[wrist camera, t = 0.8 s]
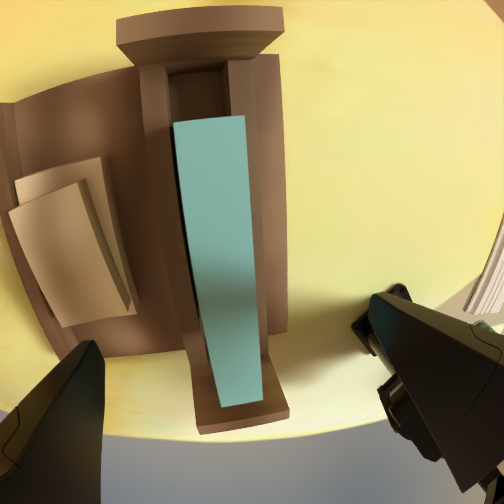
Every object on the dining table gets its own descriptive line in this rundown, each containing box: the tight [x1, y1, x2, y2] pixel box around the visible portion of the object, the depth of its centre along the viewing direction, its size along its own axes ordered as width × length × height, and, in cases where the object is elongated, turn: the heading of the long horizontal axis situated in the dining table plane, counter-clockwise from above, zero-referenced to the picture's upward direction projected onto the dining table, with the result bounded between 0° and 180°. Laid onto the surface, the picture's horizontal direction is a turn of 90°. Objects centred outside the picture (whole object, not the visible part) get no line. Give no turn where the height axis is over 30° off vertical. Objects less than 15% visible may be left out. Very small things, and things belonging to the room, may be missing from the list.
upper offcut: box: [8, 178, 131, 328], centre depth 15 cm, size 5×8×1 cm, turn 11°
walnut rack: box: [0, 5, 290, 435], centre depth 15 cm, size 18×20×9 cm
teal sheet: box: [173, 115, 263, 407], centre depth 14 cm, size 2×12×9 cm, turn 4°
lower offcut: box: [14, 154, 139, 318], centre depth 16 cm, size 6×10×2 cm, turn 4°
